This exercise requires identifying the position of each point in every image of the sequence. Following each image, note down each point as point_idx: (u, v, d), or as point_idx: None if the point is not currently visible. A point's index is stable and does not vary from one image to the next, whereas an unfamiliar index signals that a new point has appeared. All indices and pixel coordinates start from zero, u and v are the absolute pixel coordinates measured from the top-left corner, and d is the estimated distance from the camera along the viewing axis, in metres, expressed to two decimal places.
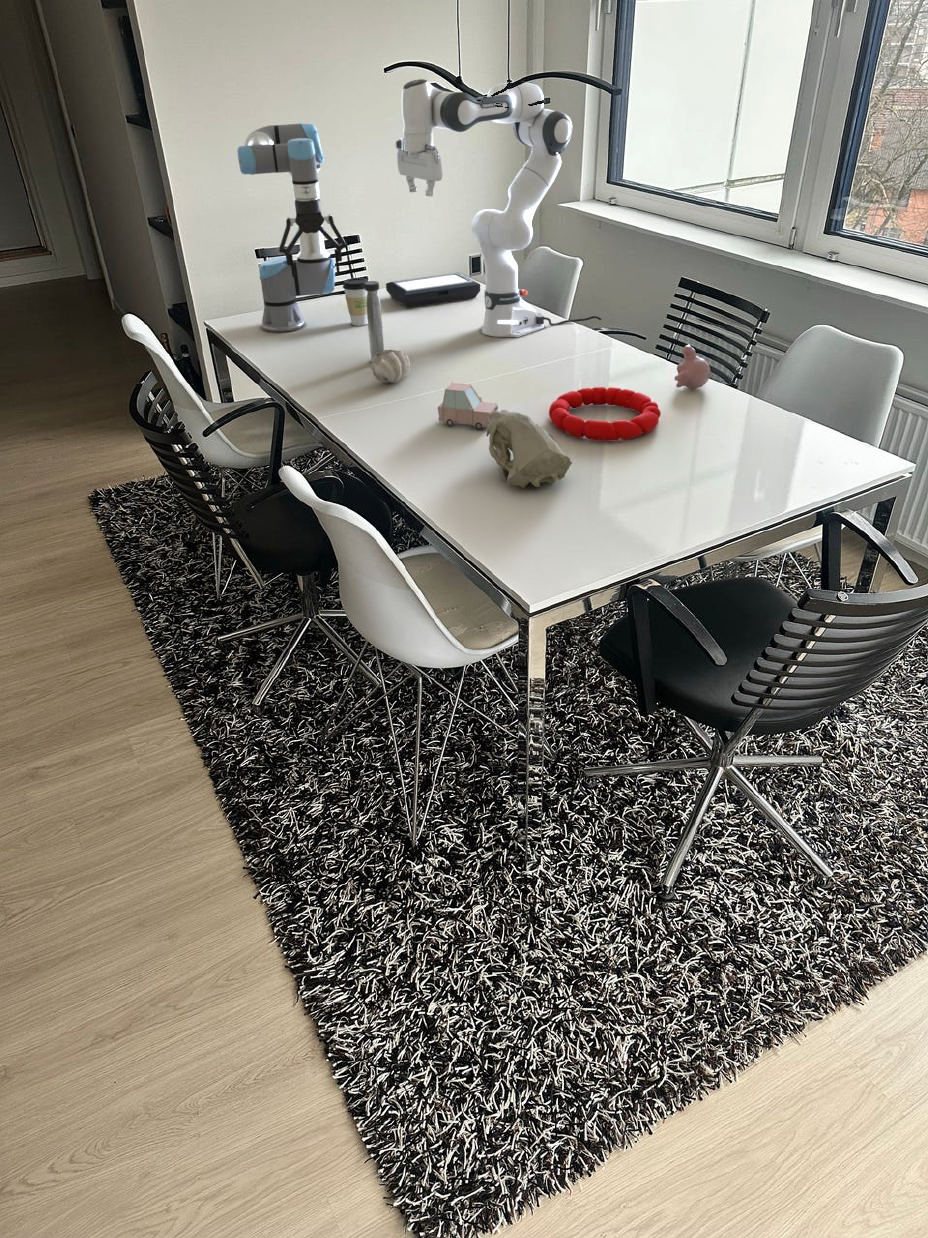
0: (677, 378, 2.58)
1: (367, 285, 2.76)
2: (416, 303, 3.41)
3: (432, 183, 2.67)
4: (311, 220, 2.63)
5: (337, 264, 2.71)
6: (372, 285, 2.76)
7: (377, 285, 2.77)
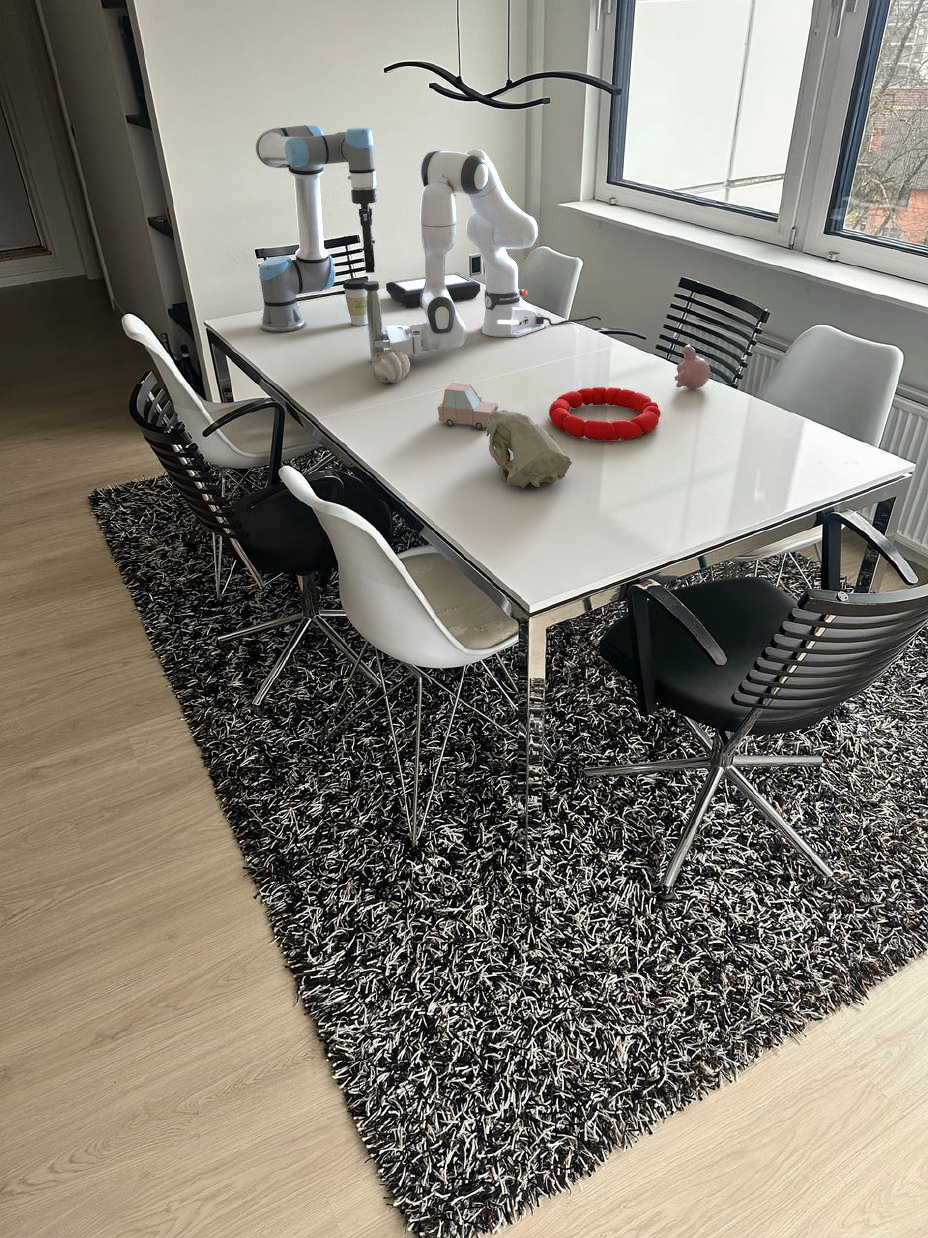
0: (677, 378, 2.58)
1: (367, 285, 2.76)
2: (416, 303, 3.41)
3: None
4: None
5: None
6: (372, 285, 2.76)
7: (377, 285, 2.77)
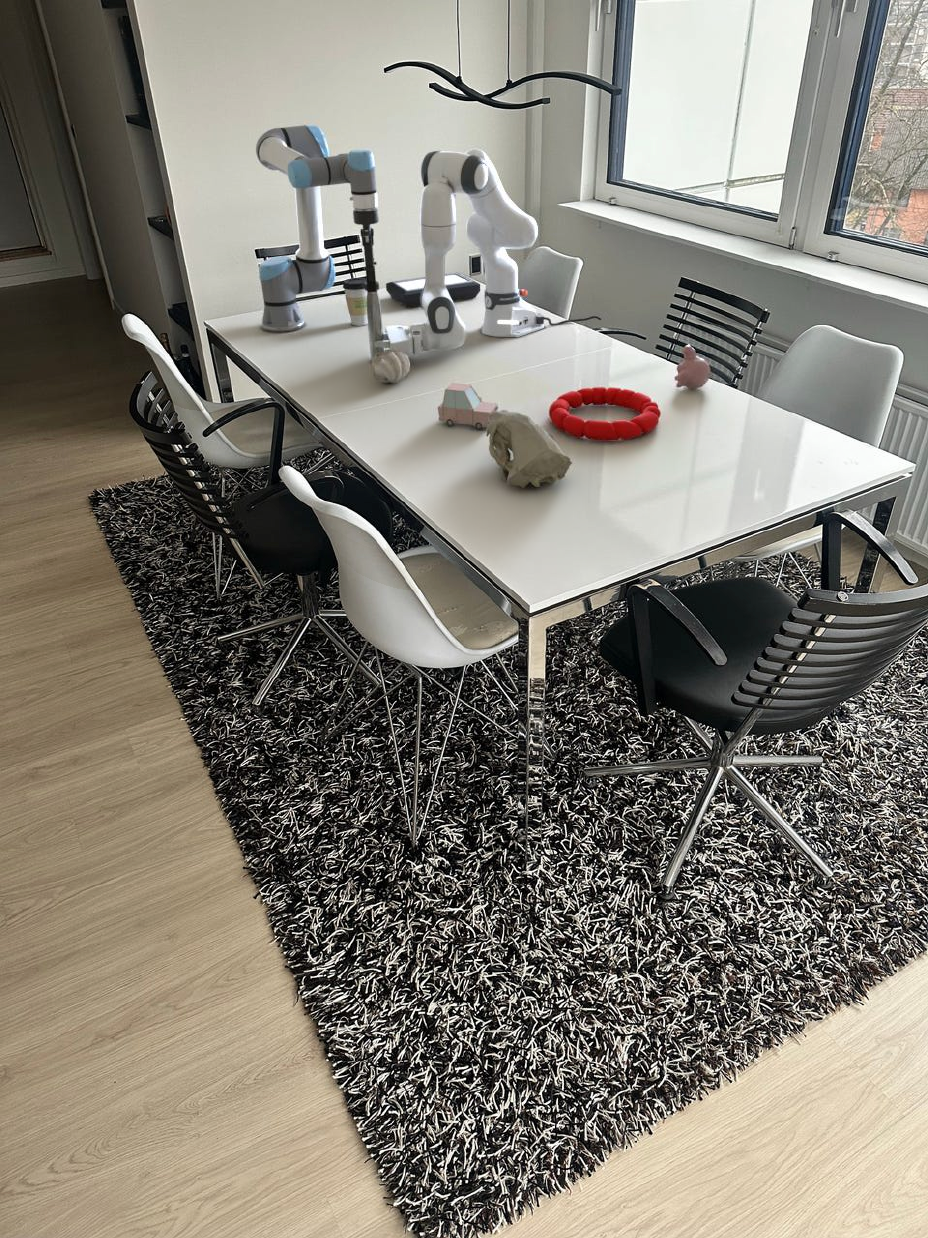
0: (677, 378, 2.58)
1: None
2: (416, 303, 3.41)
3: None
4: None
5: None
6: None
7: (377, 285, 2.77)
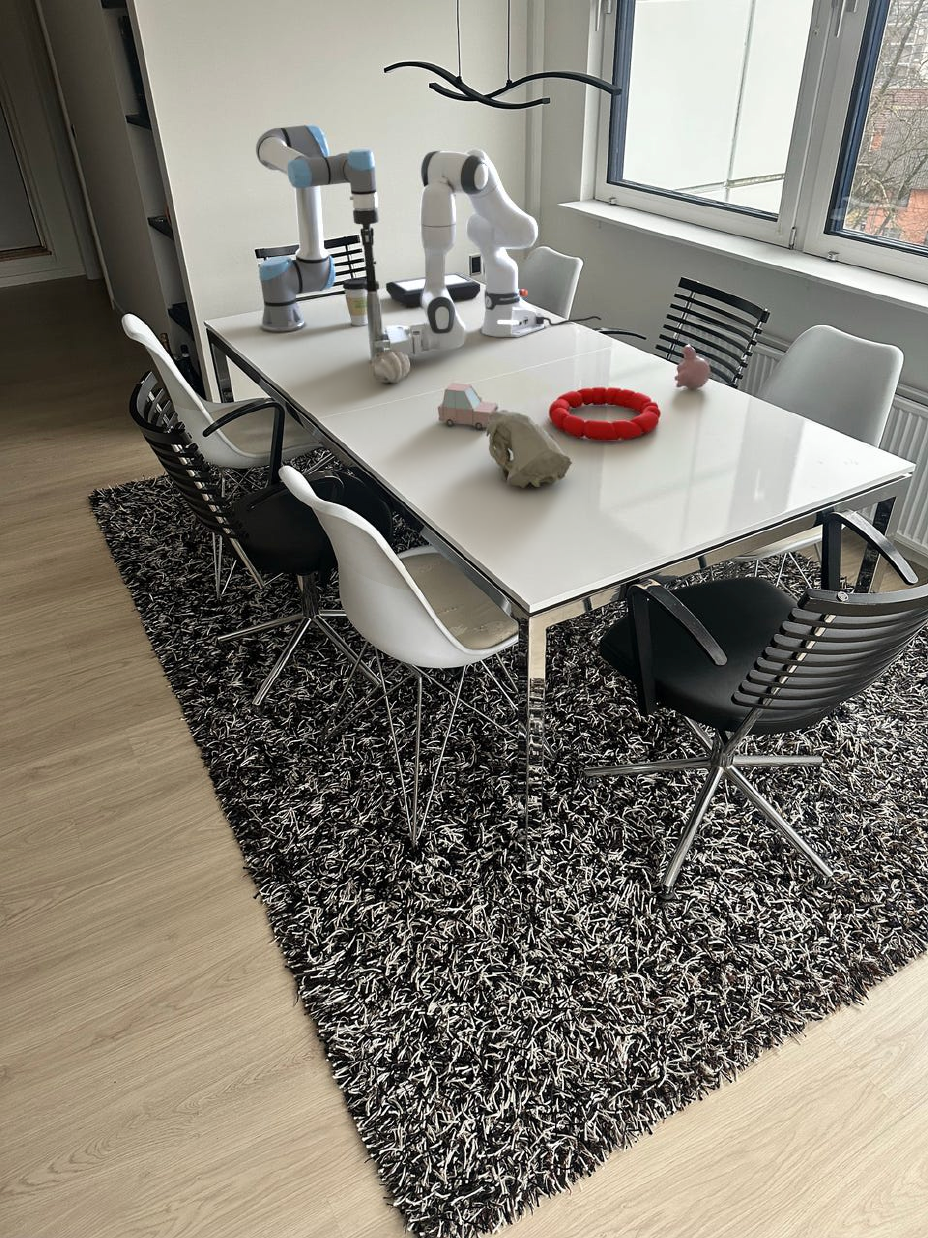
0: (677, 378, 2.58)
1: (378, 283, 2.78)
2: (416, 303, 3.41)
3: None
4: None
5: None
6: None
7: None
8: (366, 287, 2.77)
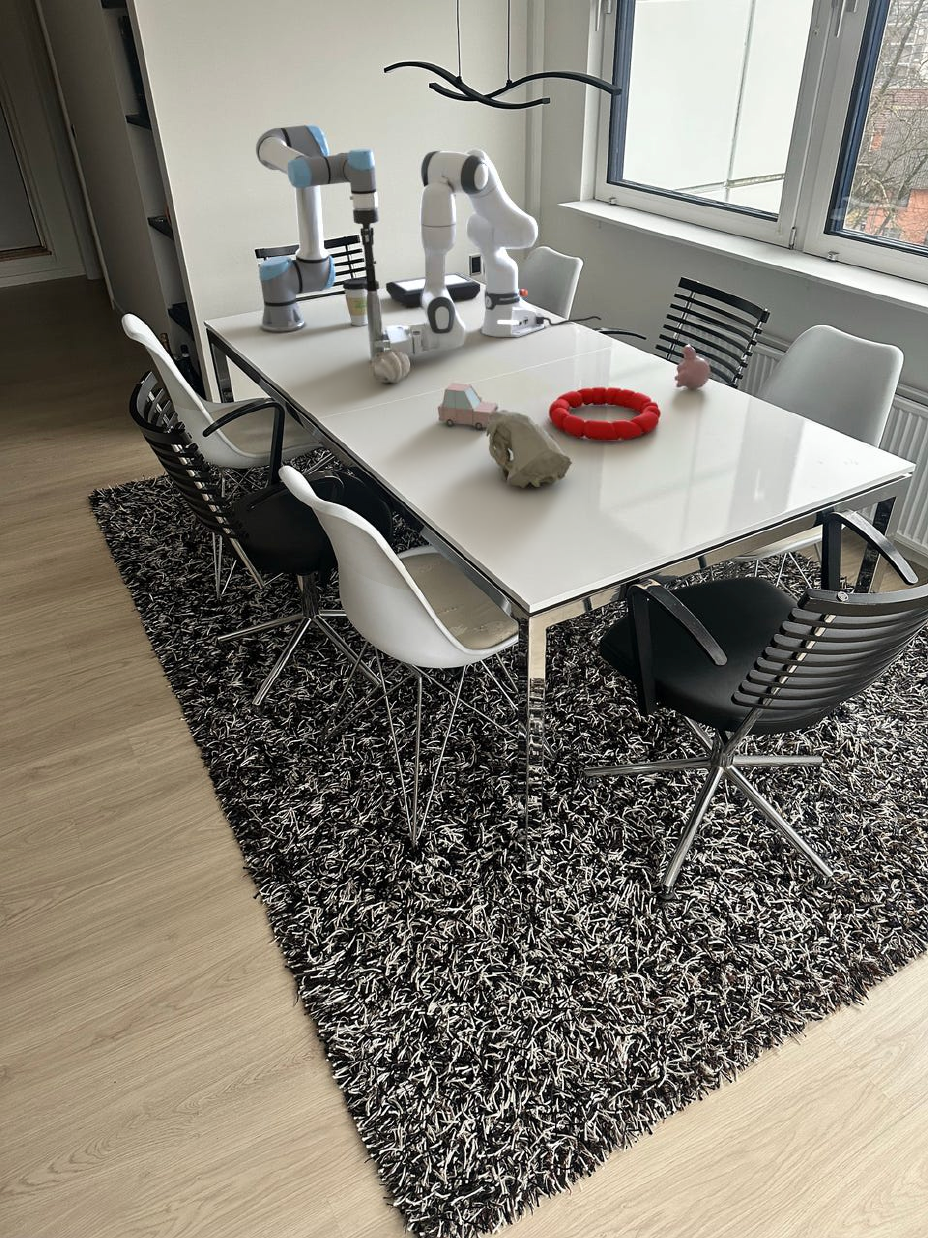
0: (677, 378, 2.58)
1: None
2: (416, 303, 3.41)
3: None
4: None
5: None
6: None
7: (365, 285, 2.77)
8: (378, 285, 2.78)
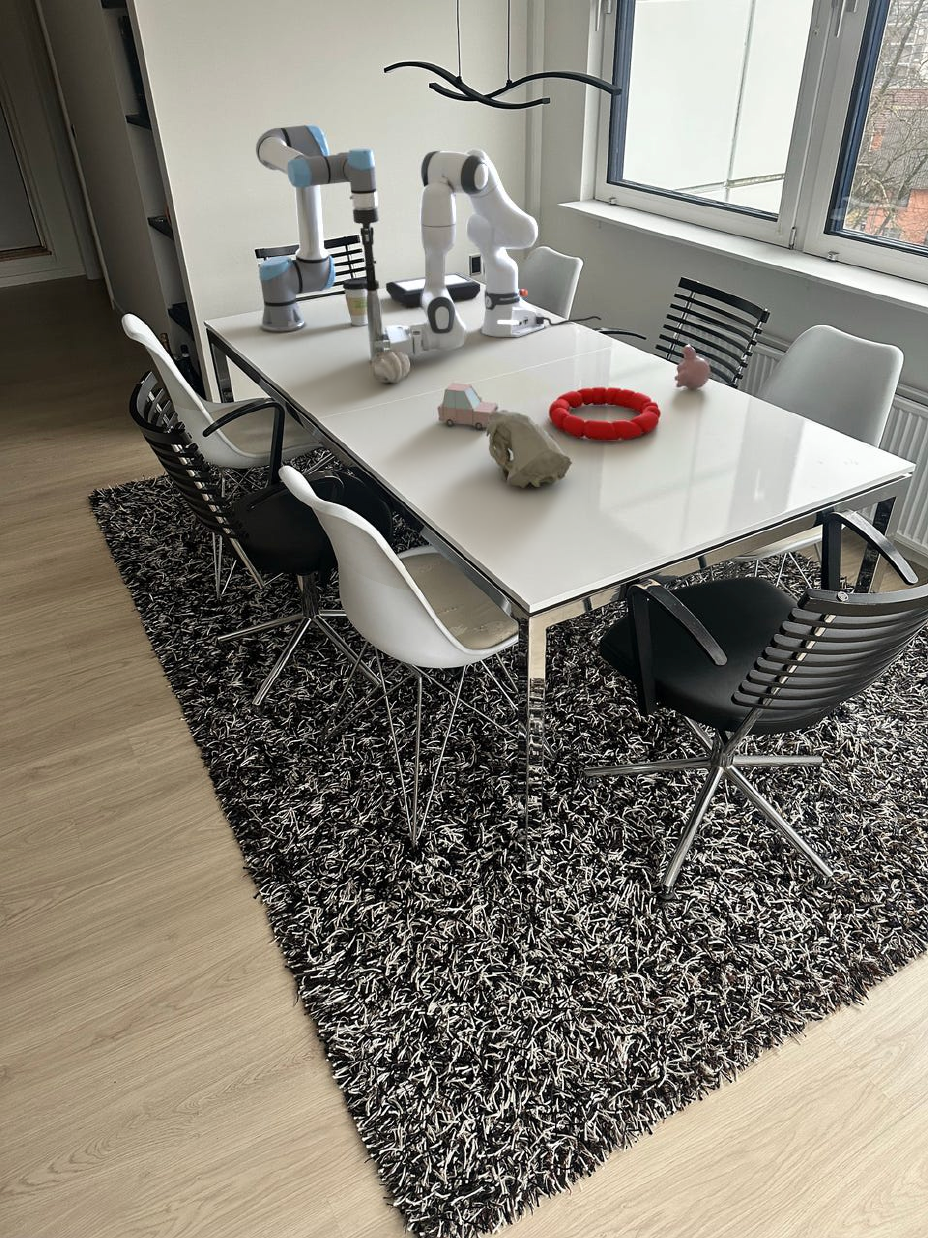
0: (677, 378, 2.58)
1: None
2: (416, 303, 3.41)
3: None
4: None
5: None
6: None
7: (377, 284, 2.77)
8: None
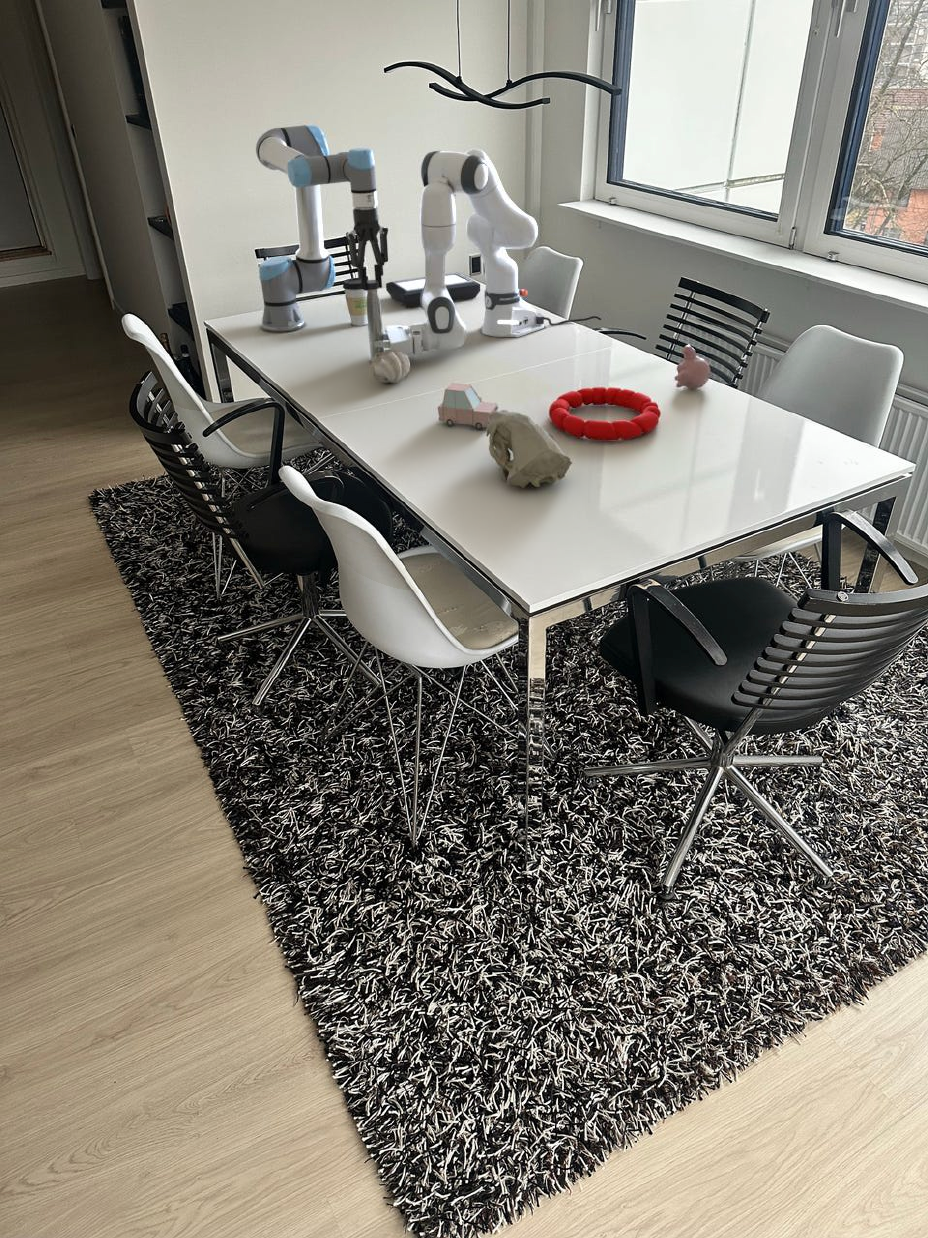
0: (677, 378, 2.58)
1: (378, 282, 2.78)
2: (416, 303, 3.41)
3: None
4: (370, 224, 2.67)
5: (380, 278, 2.77)
6: None
7: None
8: None
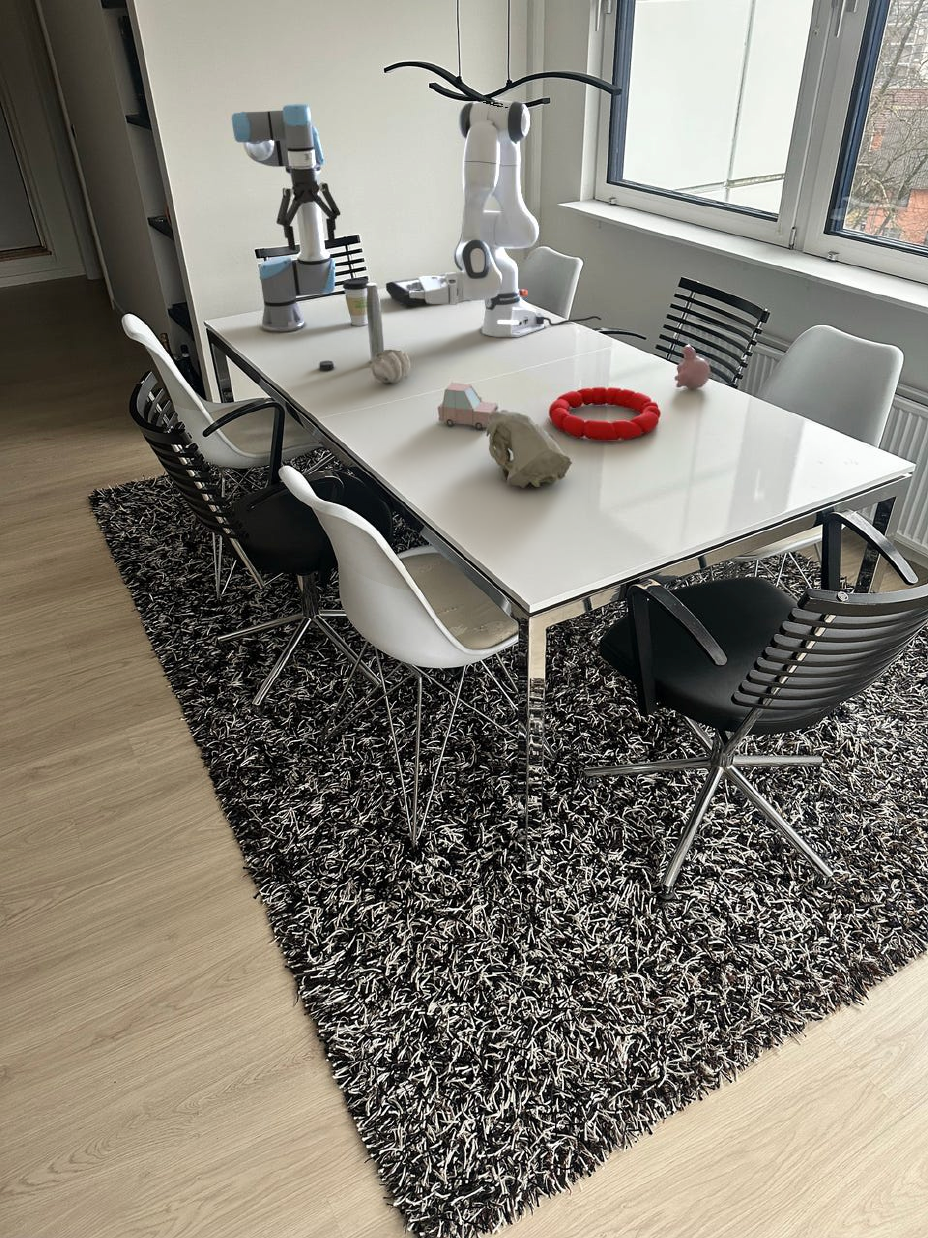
0: (677, 378, 2.58)
1: None
2: (416, 303, 3.41)
3: None
4: (309, 189, 2.56)
5: (333, 233, 2.67)
6: None
7: None
8: (322, 368, 2.85)
